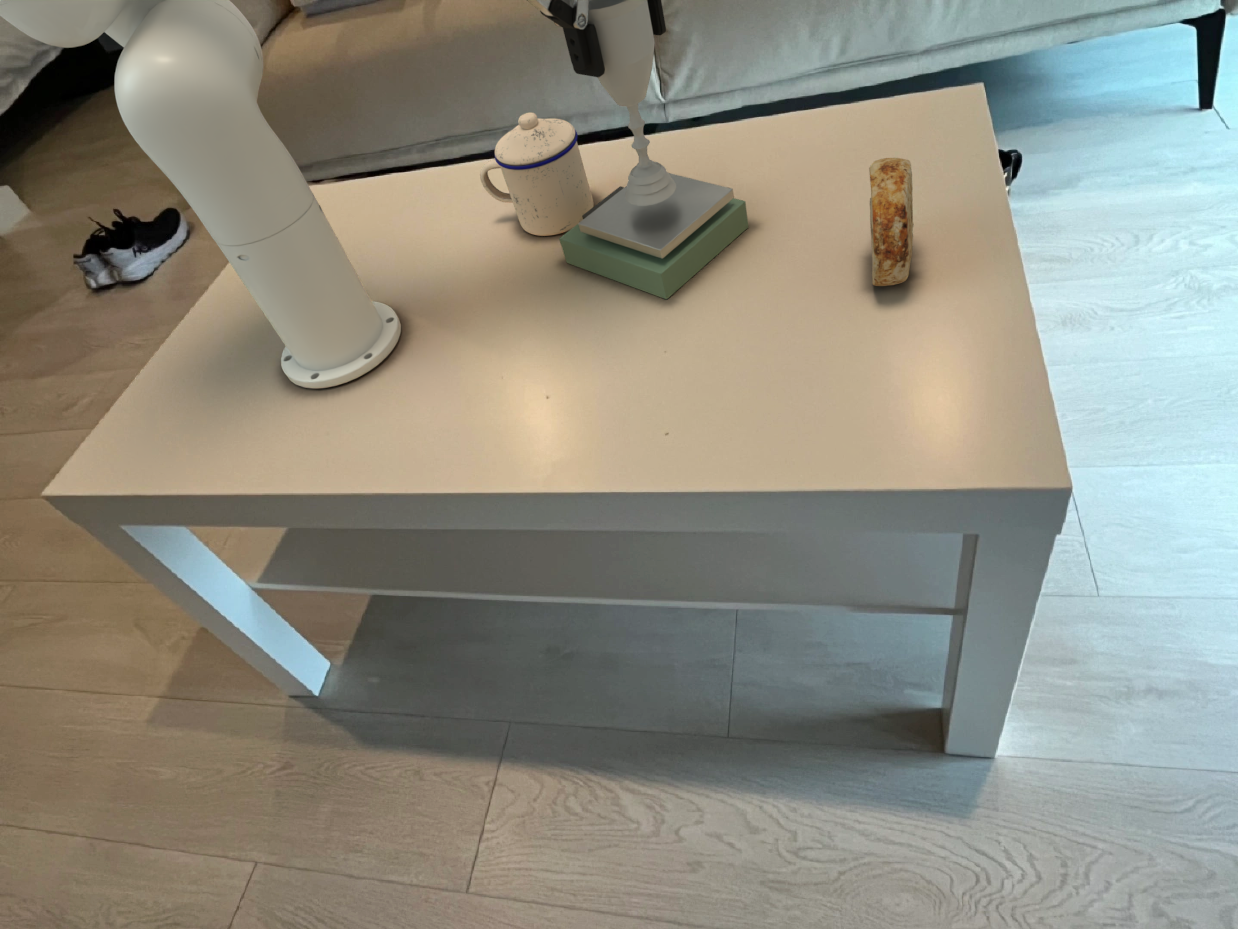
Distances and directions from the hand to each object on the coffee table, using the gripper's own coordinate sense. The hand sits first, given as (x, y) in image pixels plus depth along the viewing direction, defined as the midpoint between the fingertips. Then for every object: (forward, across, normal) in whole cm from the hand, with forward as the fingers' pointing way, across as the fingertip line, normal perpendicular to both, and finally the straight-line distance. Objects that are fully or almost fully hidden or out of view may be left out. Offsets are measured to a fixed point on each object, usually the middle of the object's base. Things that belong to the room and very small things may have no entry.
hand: (620, 51), depth 69 cm
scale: (+20, 0, -1) cm, 20 cm away
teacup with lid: (+20, +1, -17) cm, 26 cm away
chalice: (+13, 0, 0) cm, 13 cm away
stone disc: (+20, -6, +22) cm, 30 cm away
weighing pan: (+16, 0, 0) cm, 16 cm away
